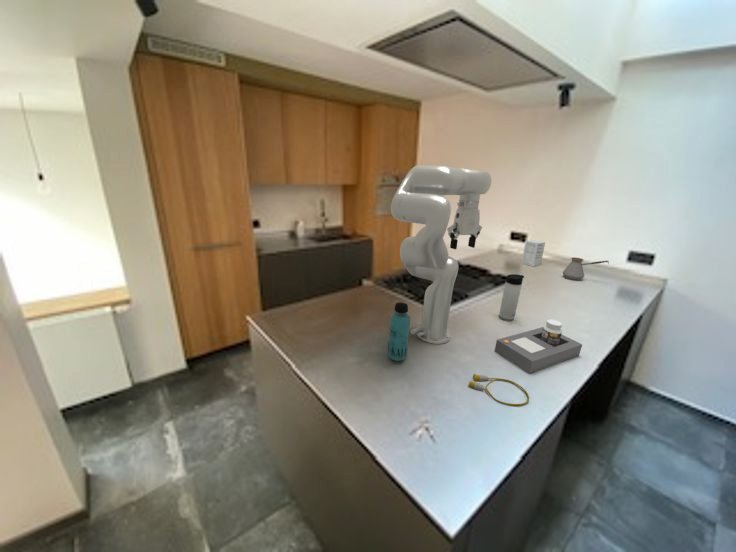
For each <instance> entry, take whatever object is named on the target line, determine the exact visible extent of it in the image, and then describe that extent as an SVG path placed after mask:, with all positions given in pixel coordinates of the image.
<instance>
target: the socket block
mask: <svg viewBox="0 0 736 552" xmlns="http://www.w3.org/2000/svg"><path fill="white" fill-rule="evenodd" d="M543 327H544V326H543ZM543 327H542V326H541V327H537V328H535V329H531V330H528V331H523V332H519V333H516V334H513V335H508V336H506V337H502V338H497V339H496V341H495V346H494V352H496V353H497V354H499V355H500V356H502V357H503V358H505V359H506V360H508V361H509V362H511V363H512V364H514V365H516V366H517V367H518V368H520V369H522V370H523V371H525V372H526V373H528V374H532V373H535V372H538V371H540V370H543V369H546V368H549V367H551V366H554V365H557V364H560V363H563V362H565V361H567V360H570V359H573V358H576V357H578V356H580V355H581V354H580V353H581V350H582V347H583V343H580V342H578V341H576V340H574V339H572V338H571V337H567V336H565V335H564V334H561V337H560V341H559V344H558V346H556V347H553V346H551V345H549V344H548V343H546V342H544V341H542V340H540V339H541V335H542V331H543Z"/></svg>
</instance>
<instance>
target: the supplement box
mask: <svg viewBox="0 0 736 552" xmlns="http://www.w3.org/2000/svg"><path fill="white" fill-rule="evenodd" d="M523 247H524V248H523V253H522V258H521V263H520V264H523V265H526V266H530V267H538V266H541V264H542V260H543V257H544V256H543V255H544V250H545V247H546V242H545V241H540V240H537V239H530V240H529V239H528V240H525V243H524V246H523Z"/></svg>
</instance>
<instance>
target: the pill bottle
mask: <svg viewBox="0 0 736 552" xmlns="http://www.w3.org/2000/svg"><path fill="white" fill-rule="evenodd" d="M562 327H563V323H562V322H560V321H559V320H556V319H547V320H546V325H544V326H543V331H542V335H541V339H540V340H542V341H544V342H546V343H548V344H549V345H551V346H553V347H556V346H558V344H559V341H560V337H561V334H562V333H563V331H562ZM562 335H563V334H562Z"/></svg>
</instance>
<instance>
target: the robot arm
mask: <svg viewBox="0 0 736 552" xmlns="http://www.w3.org/2000/svg"><path fill="white" fill-rule="evenodd" d="M491 185H492V177H491V174H490V173H489V171H484V170H475V169H474V170H472V169H468V168H461V167H453V166H449V165H430V164H429V165H425V164H424V165H423V164H421V165H419V164H417V165H415V166H413V167H412V168H411V169H410V170H409V171H408V173H407V174H406V175H405V176H404V178H403V179H402V181H401V183H400V185H399V186H398V188H397V190H396V192H395V193H394V196H392V199H391V200H392V201H391V203H390V212H391V215H392V217H393V219H395V220H397V221H399V222H405V223H413V224H420V225H425V226H423V228H421V229H420V230H419V231H418V232H417V233H416V235H415V236H408V237H406V238H404V239H403V241H402V242H401V244H400V248H399V258H400V260H401V263H402V264H403V265H404V267H405V268H406V270H407V271H408V273H409V274H410V275H412V276H413V277H417V278H420V279H425V280H428V281H432V283H431V284H430V285H428V287H427V288H426V289H425V293H424V297H423V298H424V301H423V308H422V319H421V323H419V325H418V327H416V328H412V329H409V333H410V334H411V335H416V336H417V337H418V338H419V339H420V340H422V341H423V342H426V343H429V344H433V345H441V344H445V343H447V342H449V341H450V340H451V333H450V332H449V331H448V324H449V317H450V309H451V304H452V303H451V302H452V298H453V297H452V296H453V290H454V285H455V282H456V278H457V276H458V271H459V263H458V261H457V260H456V259H455V258H453V257H451V256H449V251H448V247H447V246H446V243H445V240H444V236H445V234H446V232H447V234H448V236H449V239H450V247H449V248H450V249H452V250H457V248H458V238H459V236H460V235H461V236H466V235H467V236H469V235H470V236H469V237H468V243H467V245H468V247H470V248H472V249H474V248H475V247H476V242H477V241H476V240H477V238H478V237H479V235H480V234H481V231H482V230H483V227H482V225H480V217H481V215H480V209H479V206H480V199H481V198H480V197H481V195H485V194H487V193H488V191H490V189H491ZM444 196H459V199H458V202H457V203H456V204H457V207H458V208H457V209H456V211H455V215H454V218H453V224H452V225H450V226H449V222H450V217H451V214H452V213H451V210H452V209H451V208H452V207H451V203H450V201H449V200H448V198H446V197H444ZM448 226H449V227H448Z"/></svg>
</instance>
